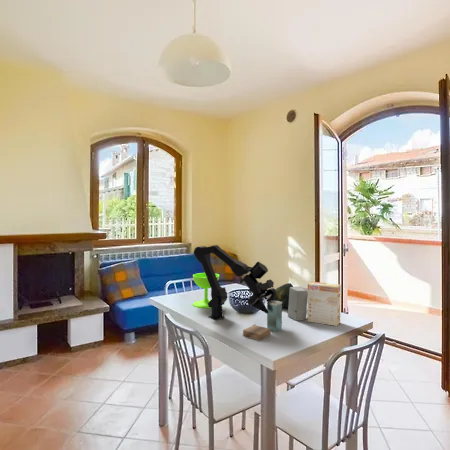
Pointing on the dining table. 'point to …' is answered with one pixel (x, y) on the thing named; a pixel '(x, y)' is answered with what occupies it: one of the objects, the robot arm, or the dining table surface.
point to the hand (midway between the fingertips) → (272, 310)
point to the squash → (283, 294)
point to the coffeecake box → (324, 303)
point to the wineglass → (203, 283)
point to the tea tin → (274, 315)
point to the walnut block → (257, 332)
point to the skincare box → (297, 303)
